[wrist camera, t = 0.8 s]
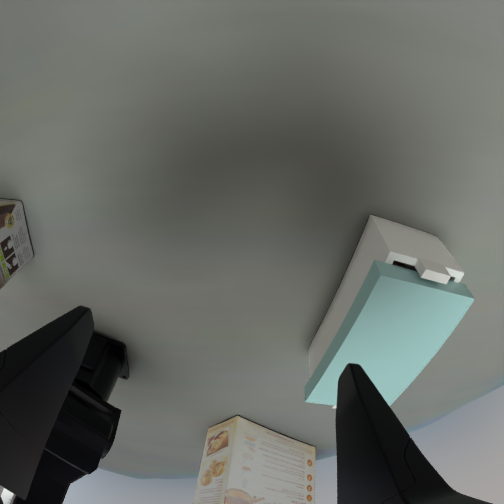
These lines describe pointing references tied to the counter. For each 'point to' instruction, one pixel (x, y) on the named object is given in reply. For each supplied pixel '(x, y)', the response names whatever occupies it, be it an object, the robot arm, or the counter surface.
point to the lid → (390, 331)
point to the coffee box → (13, 240)
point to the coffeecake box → (254, 466)
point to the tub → (388, 251)
